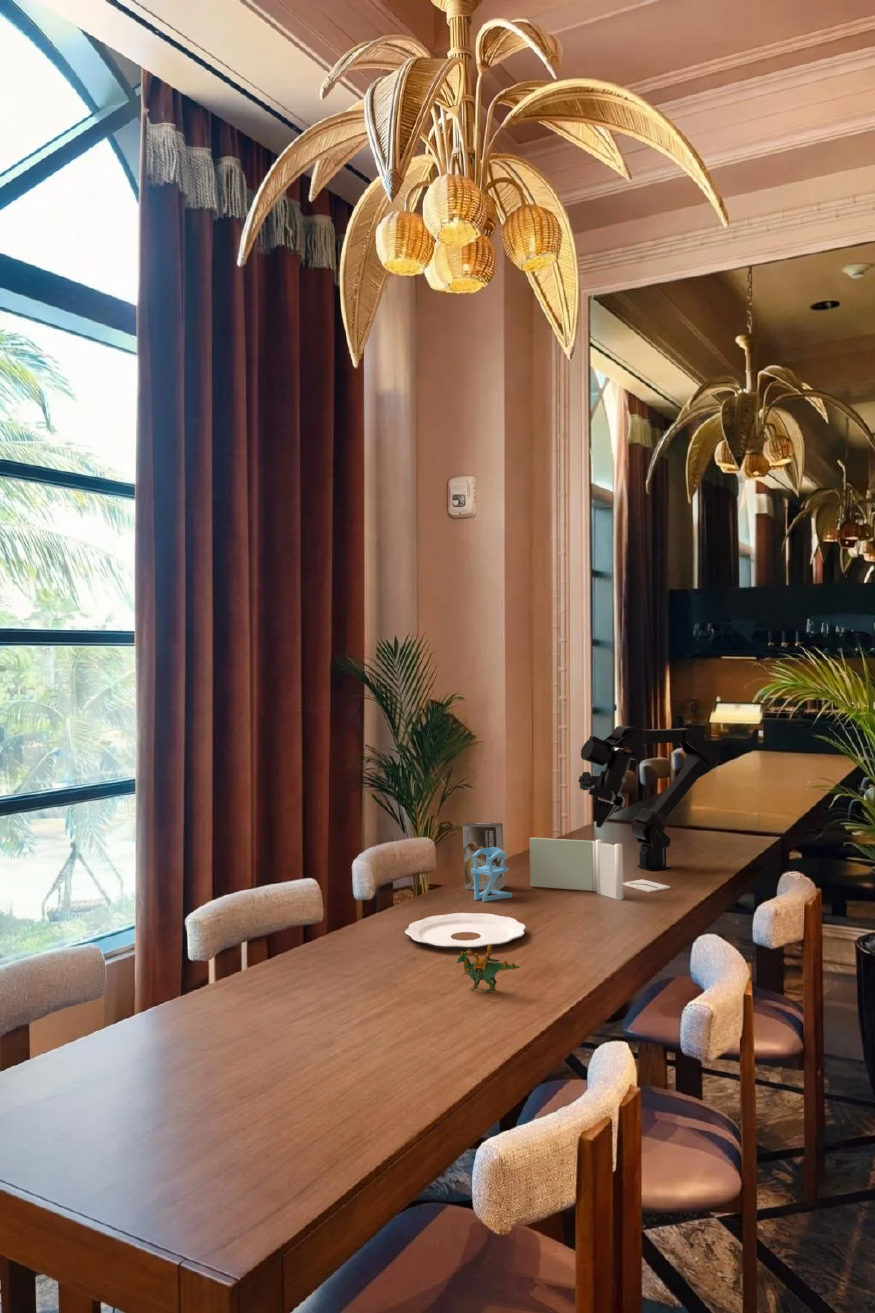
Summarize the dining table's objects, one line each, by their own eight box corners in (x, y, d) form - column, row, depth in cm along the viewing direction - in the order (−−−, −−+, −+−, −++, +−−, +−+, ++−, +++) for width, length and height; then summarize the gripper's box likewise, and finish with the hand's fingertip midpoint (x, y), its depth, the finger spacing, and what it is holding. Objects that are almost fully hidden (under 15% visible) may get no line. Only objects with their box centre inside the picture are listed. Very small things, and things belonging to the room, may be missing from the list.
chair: (466, 899, 239) (465, 849, 239) (488, 892, 245) (487, 844, 245) (491, 903, 234) (489, 853, 234) (513, 897, 240) (511, 847, 240)
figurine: (460, 984, 177) (459, 939, 177) (524, 992, 172) (523, 945, 172) (453, 990, 174) (452, 943, 174) (518, 997, 170) (517, 950, 170)
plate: (390, 929, 215) (390, 920, 215) (496, 916, 223) (496, 908, 223) (430, 962, 191) (430, 952, 191) (546, 945, 200) (546, 936, 200)
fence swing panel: (598, 889, 243) (597, 841, 243) (597, 890, 242) (595, 842, 242) (531, 885, 250) (530, 837, 250) (530, 886, 249) (529, 838, 249)
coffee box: (505, 885, 252) (504, 822, 252) (498, 891, 246) (497, 827, 246) (471, 883, 255) (469, 821, 255) (463, 889, 249) (462, 825, 249)
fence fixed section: (625, 899, 235) (623, 844, 235) (619, 900, 234) (618, 845, 234) (601, 892, 243) (599, 839, 242) (595, 893, 242) (594, 840, 242)
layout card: (670, 888, 245) (670, 886, 245) (649, 892, 241) (649, 890, 241) (642, 880, 253) (642, 878, 253) (621, 884, 250) (621, 882, 250)
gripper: (594, 767, 276) (577, 820, 274) (579, 757, 259) (561, 815, 258) (632, 778, 272) (616, 833, 270) (619, 770, 255) (601, 828, 253)
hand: (598, 827), depth 263 cm, fingers closed
